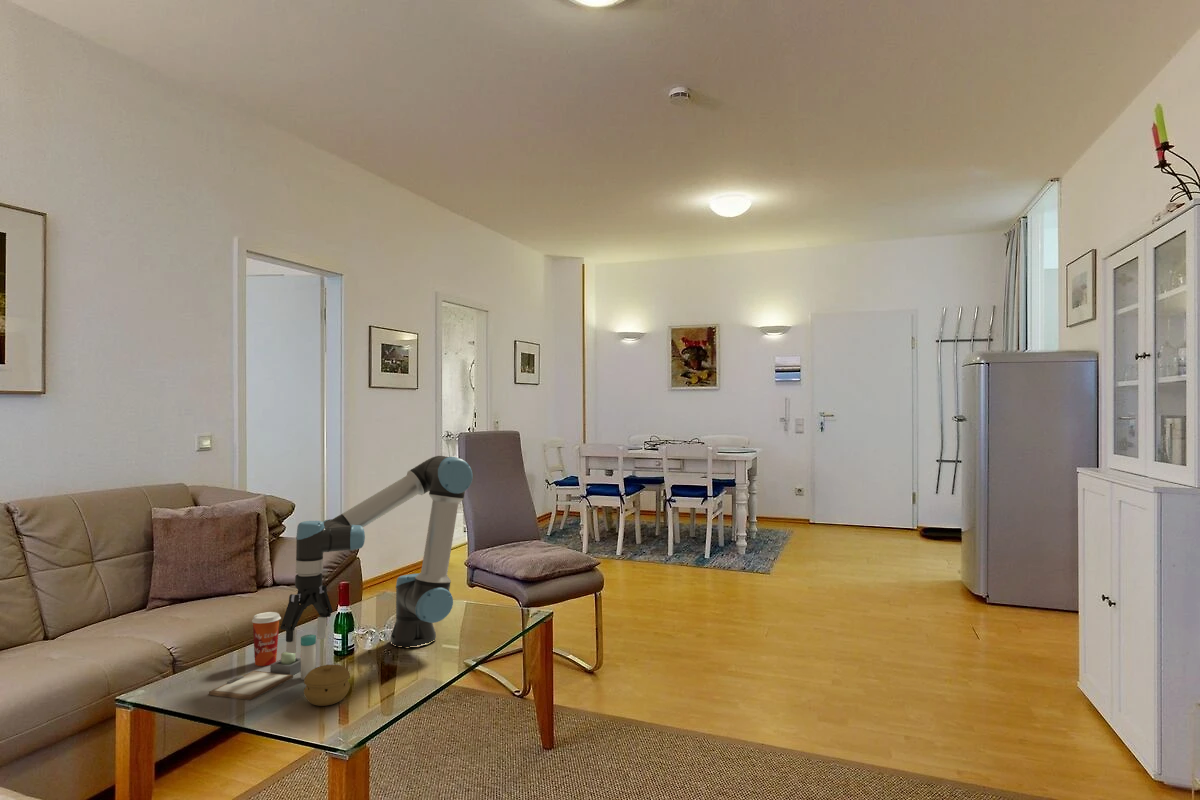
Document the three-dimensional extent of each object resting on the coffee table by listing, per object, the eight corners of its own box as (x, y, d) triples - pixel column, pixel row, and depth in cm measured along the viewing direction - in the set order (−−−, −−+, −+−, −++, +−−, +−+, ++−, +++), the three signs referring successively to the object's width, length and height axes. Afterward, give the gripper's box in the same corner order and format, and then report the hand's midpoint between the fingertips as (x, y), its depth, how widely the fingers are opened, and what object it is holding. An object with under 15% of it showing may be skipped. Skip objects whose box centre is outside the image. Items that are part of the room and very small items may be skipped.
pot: (350, 691, 197) (350, 655, 197) (349, 707, 186) (349, 669, 186) (305, 696, 193) (305, 660, 193) (301, 713, 182) (302, 675, 182)
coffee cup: (251, 669, 214) (251, 620, 215) (250, 660, 221) (251, 613, 222) (281, 664, 218) (281, 616, 218) (279, 656, 225) (280, 610, 226)
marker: (318, 675, 209) (319, 635, 209) (309, 680, 205) (309, 639, 205) (306, 674, 210) (307, 634, 210) (297, 679, 206) (297, 638, 206)
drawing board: (293, 677, 207) (293, 672, 207) (250, 700, 191) (250, 694, 191) (253, 673, 211) (253, 668, 211) (208, 694, 194) (208, 689, 194)
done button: (298, 663, 214) (298, 651, 214) (289, 668, 210) (289, 656, 210) (287, 662, 215) (287, 650, 215) (278, 667, 211) (278, 654, 211)
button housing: (305, 668, 215) (305, 658, 215) (290, 676, 208) (290, 666, 208) (286, 666, 217) (286, 656, 217) (270, 674, 210) (270, 664, 210)
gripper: (325, 564, 221) (323, 632, 221) (268, 581, 197) (266, 657, 196) (345, 566, 219) (343, 634, 219) (290, 583, 195) (288, 660, 194)
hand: (306, 645), depth 208 cm, fingers open, 13 cm apart
